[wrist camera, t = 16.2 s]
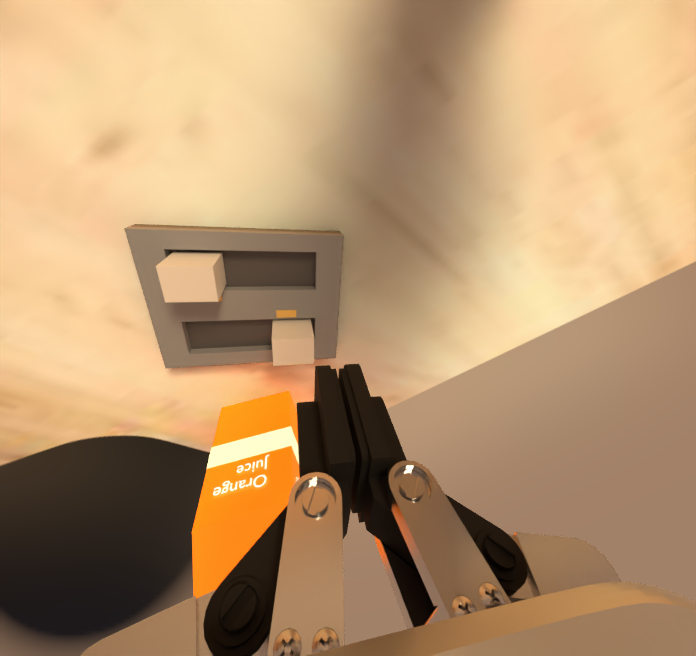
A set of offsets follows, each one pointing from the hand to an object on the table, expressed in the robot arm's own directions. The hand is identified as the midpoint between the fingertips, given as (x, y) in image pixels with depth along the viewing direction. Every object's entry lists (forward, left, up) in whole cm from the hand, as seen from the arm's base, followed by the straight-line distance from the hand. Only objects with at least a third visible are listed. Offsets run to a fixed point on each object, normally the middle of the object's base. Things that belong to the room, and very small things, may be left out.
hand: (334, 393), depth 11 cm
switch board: (+5, +5, -21) cm, 22 cm away
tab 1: (+9, +1, -20) cm, 22 cm away
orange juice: (+5, +22, -21) cm, 31 cm away
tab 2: (+1, +8, -20) cm, 21 cm away
